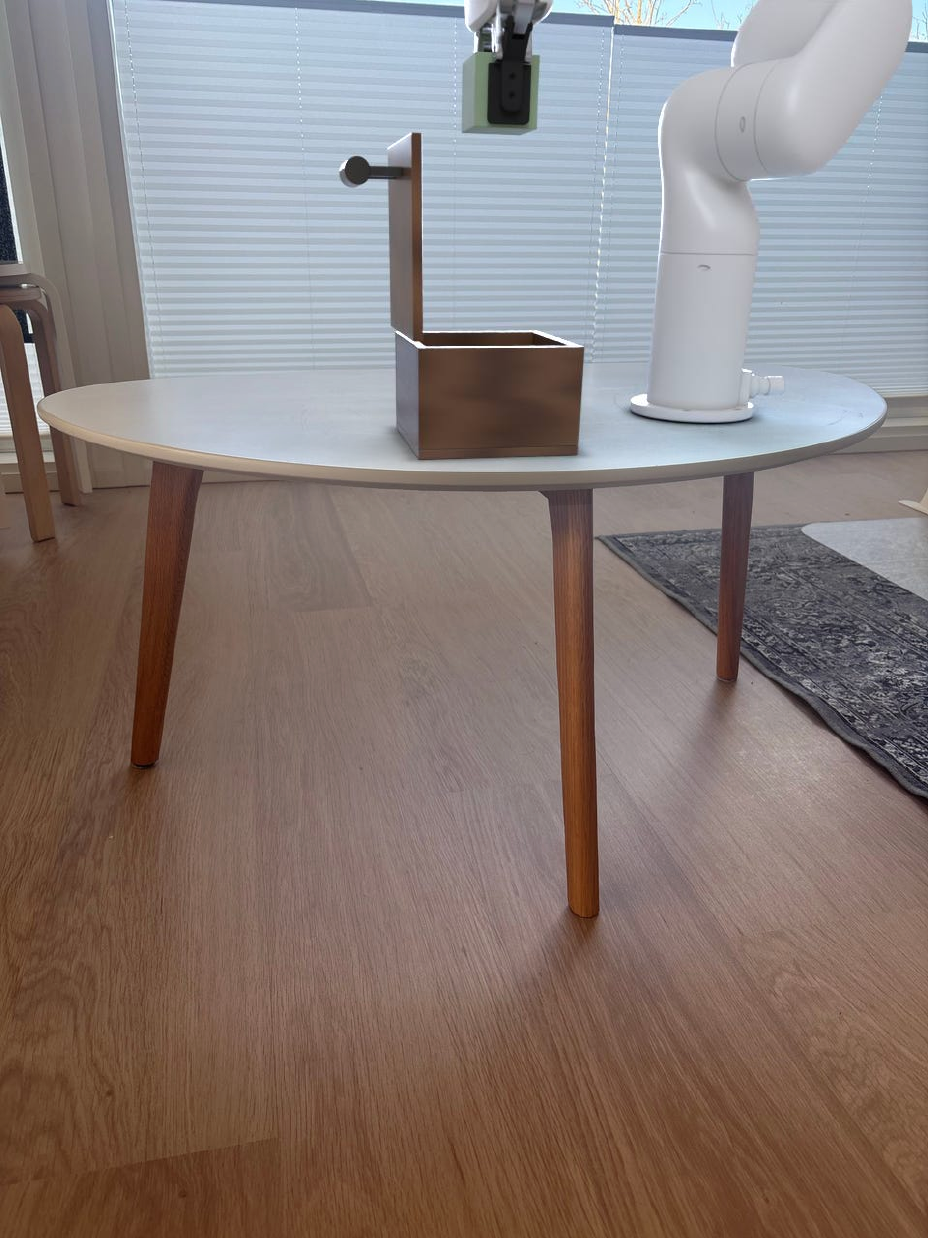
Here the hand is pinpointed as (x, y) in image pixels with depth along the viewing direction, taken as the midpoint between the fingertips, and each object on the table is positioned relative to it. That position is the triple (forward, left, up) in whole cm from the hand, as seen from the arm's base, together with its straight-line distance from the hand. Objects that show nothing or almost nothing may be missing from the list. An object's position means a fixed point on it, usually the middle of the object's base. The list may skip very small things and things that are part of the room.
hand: (499, 125), depth 74 cm
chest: (+1, 0, -25) cm, 25 cm away
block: (0, 0, 0) cm, 0 cm away
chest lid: (+7, 0, -9) cm, 11 cm away
